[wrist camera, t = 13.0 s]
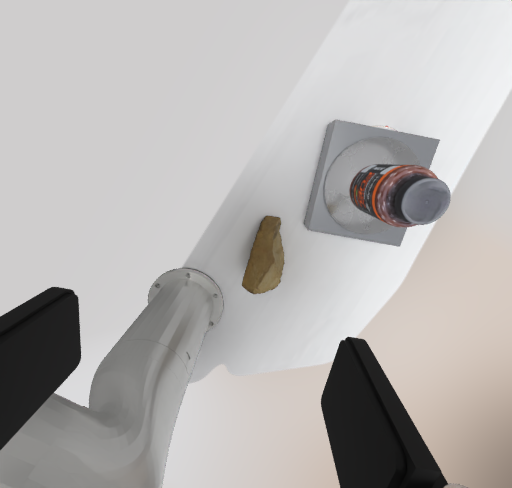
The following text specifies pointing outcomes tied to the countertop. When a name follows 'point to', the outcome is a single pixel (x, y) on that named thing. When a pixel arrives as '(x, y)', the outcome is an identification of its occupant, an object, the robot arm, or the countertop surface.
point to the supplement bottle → (400, 194)
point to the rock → (265, 258)
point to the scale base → (334, 144)
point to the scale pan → (345, 171)
